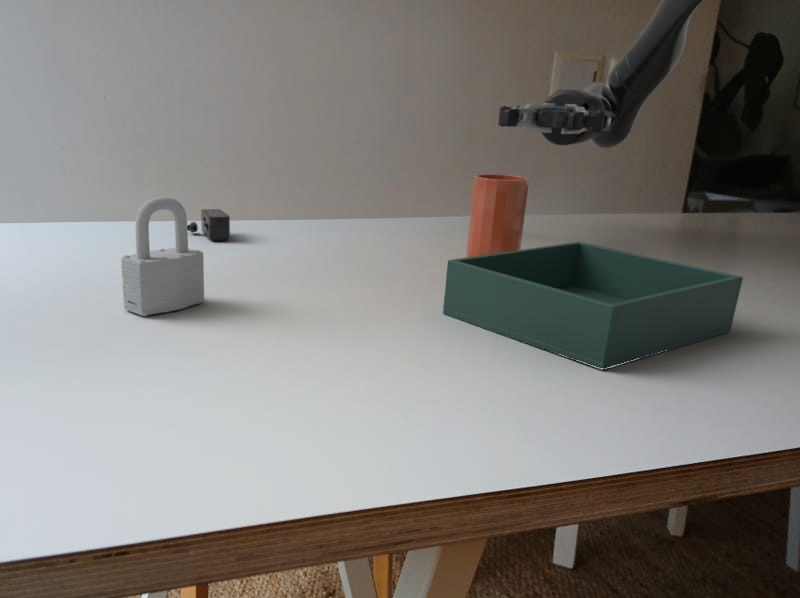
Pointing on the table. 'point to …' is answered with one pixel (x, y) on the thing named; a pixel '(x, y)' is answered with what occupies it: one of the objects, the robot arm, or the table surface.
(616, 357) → the tub
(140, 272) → the padlock
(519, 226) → the tumbler
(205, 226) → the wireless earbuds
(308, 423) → the table surface
